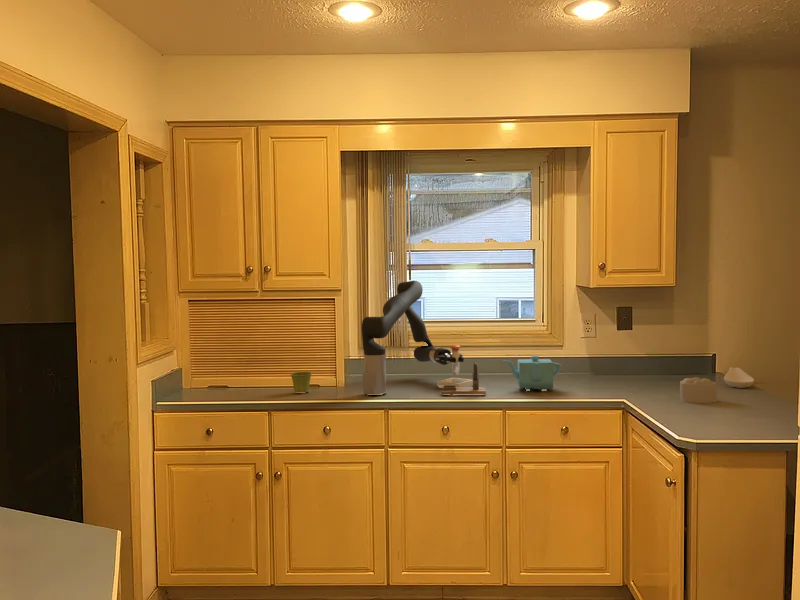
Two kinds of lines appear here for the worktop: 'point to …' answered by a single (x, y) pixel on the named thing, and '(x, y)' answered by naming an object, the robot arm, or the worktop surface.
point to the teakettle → (534, 372)
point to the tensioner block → (466, 390)
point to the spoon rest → (738, 378)
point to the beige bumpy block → (698, 390)
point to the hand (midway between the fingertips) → (458, 359)
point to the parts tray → (449, 382)
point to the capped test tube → (456, 355)
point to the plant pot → (301, 381)
